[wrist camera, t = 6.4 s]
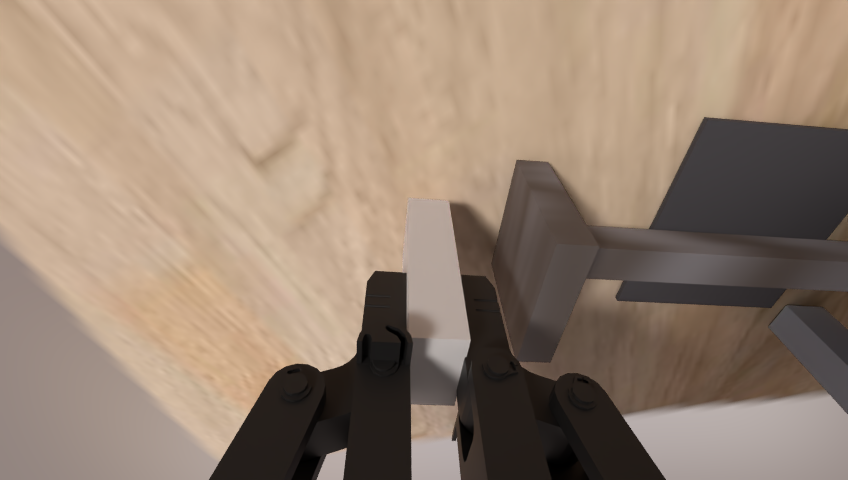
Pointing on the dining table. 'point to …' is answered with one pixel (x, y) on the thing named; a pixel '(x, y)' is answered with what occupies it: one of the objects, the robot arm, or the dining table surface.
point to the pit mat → (750, 197)
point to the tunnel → (817, 346)
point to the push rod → (626, 259)
